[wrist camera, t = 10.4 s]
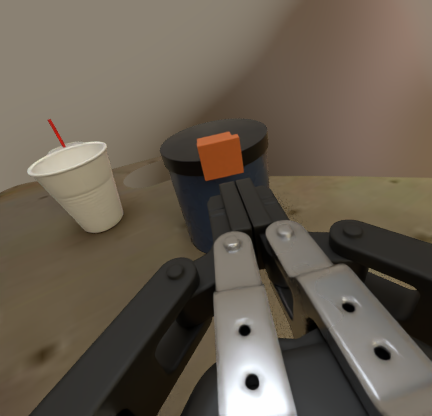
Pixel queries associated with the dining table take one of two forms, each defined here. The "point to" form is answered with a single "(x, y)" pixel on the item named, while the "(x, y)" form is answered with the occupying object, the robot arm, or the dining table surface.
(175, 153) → the blue lidded canister
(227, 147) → the slider
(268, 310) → the robot arm
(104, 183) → the cup
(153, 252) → the dining table surface
